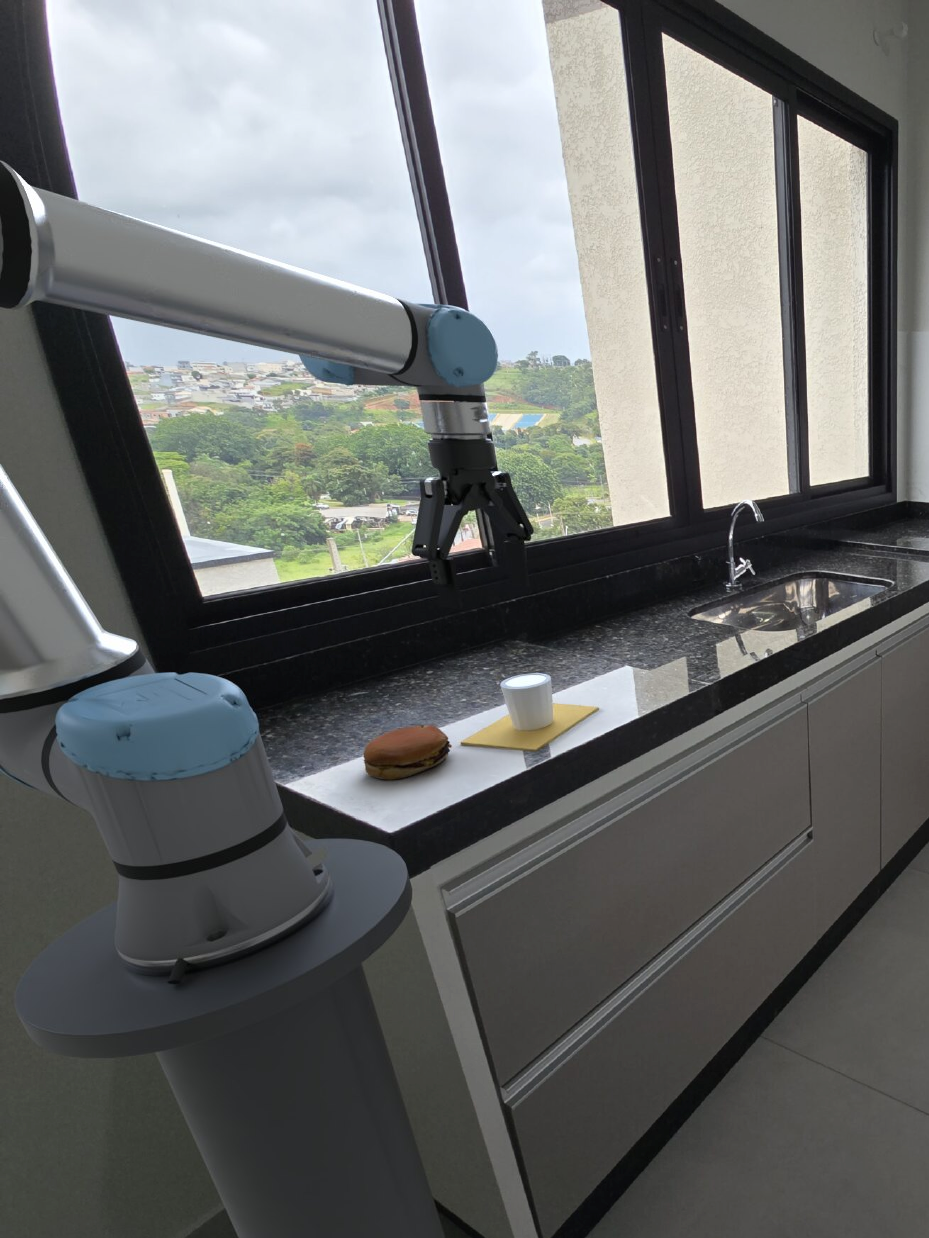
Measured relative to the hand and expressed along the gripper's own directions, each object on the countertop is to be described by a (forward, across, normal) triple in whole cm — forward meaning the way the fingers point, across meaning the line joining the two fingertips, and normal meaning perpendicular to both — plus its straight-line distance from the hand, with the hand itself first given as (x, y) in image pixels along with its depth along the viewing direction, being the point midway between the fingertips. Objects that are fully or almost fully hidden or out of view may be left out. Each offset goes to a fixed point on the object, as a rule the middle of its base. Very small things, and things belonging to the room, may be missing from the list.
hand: (488, 596), depth 104 cm
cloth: (+21, +2, -2) cm, 21 cm away
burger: (+21, -12, +6) cm, 25 cm away
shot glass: (+20, +3, -2) cm, 21 cm away
